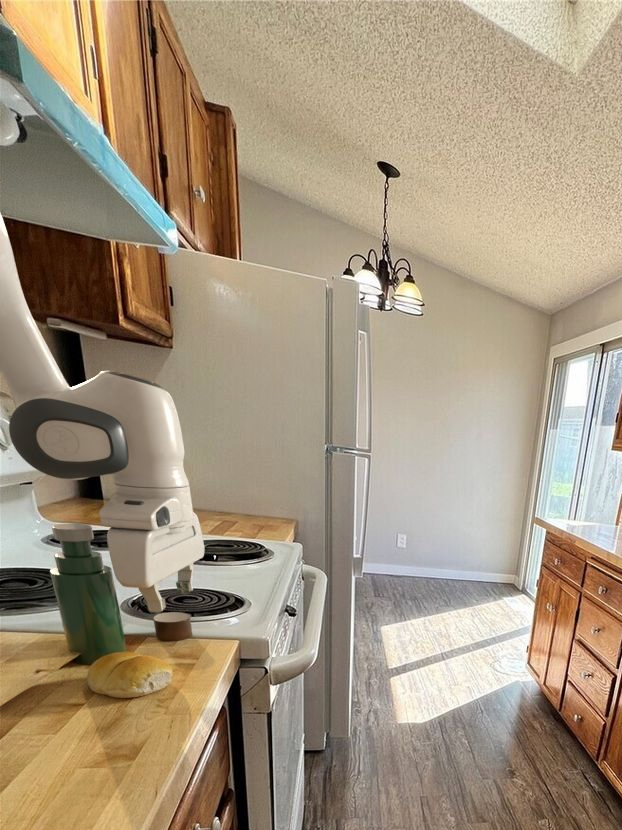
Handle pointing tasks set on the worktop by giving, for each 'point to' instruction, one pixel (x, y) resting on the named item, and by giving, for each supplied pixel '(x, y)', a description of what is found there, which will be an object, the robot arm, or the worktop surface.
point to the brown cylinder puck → (173, 626)
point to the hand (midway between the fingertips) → (172, 601)
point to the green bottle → (86, 596)
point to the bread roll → (128, 675)
